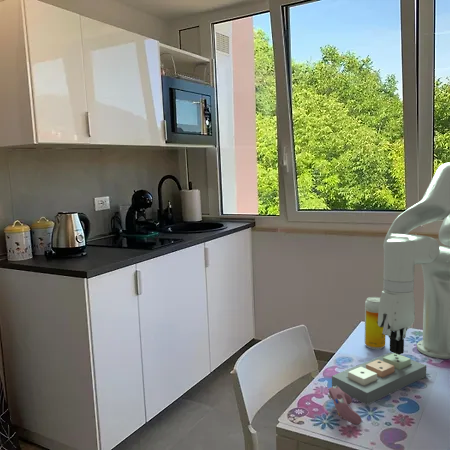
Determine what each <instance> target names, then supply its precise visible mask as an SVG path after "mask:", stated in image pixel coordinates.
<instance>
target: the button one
mask: <svg viewBox="0 0 450 450" xmlns="http://www.w3.org/2000/svg"><path fill="white" fill-rule="evenodd" d="M348 379H351V380H353V381H355V382H357V383H359V384H361V385H363V386H365V385H367V384H369V383H372V382H374V381H376V380H377V373H375V372H373V371H370V370H368V369H366V368H363V367H359V368H356V369H354V370H351V371H349V372H348Z"/></svg>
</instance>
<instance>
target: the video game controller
mask: <svg viewBox="0 0 450 450" xmlns="http://www.w3.org/2000/svg"><path fill="white" fill-rule="evenodd" d="M328 393H329V394H327V397H328V399H329V400H333V401H332V402H333V405H334V408H335V410H336V412H337V414H338V415H337V416H339V417H341V419H342V420H343V419H344V420H345V421H346V422H349V423H350V424H353V425H356V426H357V425H360V424H361V423H362V417H361V416H360V415H359V413H357V412H356V411H354V410H353V409H352V408H351V407H350V406H349V405H351V404H352V402H353V398H352V397H351V396H349V395H348V394H346V393H345V392H343V391H342V390H341V389H340V388H339V387H337V385H336V387H334V386H333V387H332V386H331V387H329V388H328Z"/></svg>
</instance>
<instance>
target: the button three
mask: <svg viewBox="0 0 450 450" xmlns="http://www.w3.org/2000/svg"><path fill="white" fill-rule="evenodd" d="M392 353H393V352H392ZM411 360H412V359H411V358H409V357H407V356H404V355H402V354H400V355H398V354H395V353H393V354H390V355H388V356H385V357H383V362H386V363H389V364H391V365H394V368H396V369H398V370H401V369H403V368H405V367H407V366H409V365H411Z"/></svg>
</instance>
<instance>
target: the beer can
mask: <svg viewBox="0 0 450 450" xmlns="http://www.w3.org/2000/svg"><path fill="white" fill-rule="evenodd" d="M380 297H381V296H379V297H378V296H369V297H367V298H366V299H365V302H364V345H365V346H366V347H367V348H369V349H371V350H381V349H383V348H384V347H385V346H386V335H384V334H383V327H379V326H378V312H379V303H380Z"/></svg>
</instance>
